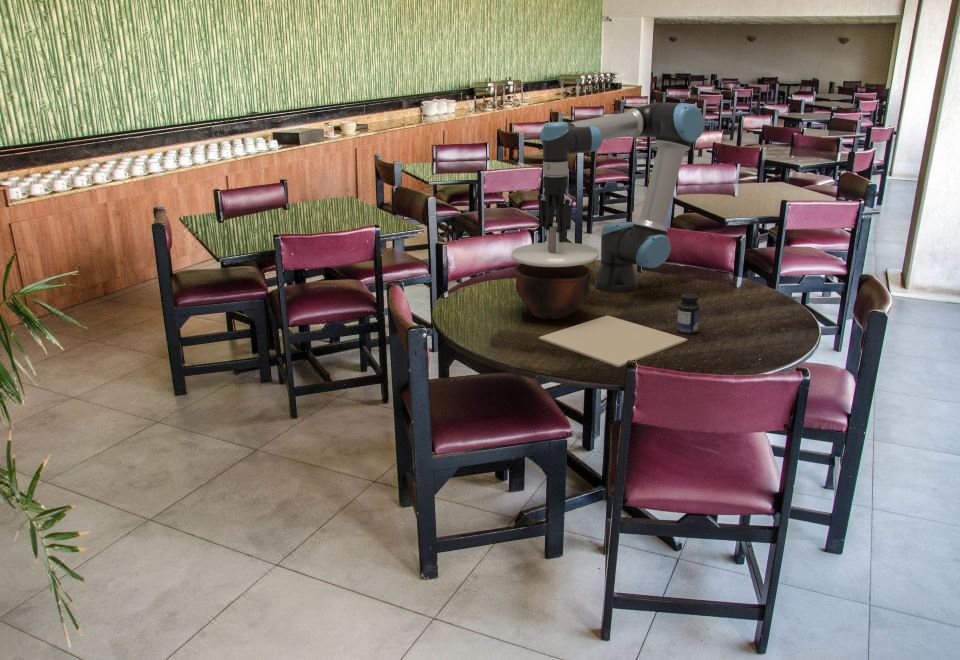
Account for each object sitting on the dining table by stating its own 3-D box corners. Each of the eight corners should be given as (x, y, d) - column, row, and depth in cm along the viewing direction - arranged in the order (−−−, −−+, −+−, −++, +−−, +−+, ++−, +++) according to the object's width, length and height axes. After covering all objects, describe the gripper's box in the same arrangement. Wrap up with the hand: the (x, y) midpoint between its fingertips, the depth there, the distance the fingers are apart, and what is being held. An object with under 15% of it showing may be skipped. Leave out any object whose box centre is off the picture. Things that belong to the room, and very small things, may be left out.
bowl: (606, 312, 246) (608, 266, 241) (560, 331, 228) (561, 283, 223) (545, 298, 261) (545, 255, 257) (498, 315, 244) (497, 269, 239)
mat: (538, 338, 223) (538, 337, 222) (607, 317, 241) (607, 315, 241) (618, 367, 201) (618, 365, 201) (687, 340, 219) (687, 338, 219)
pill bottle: (691, 327, 230) (694, 292, 227) (701, 333, 225) (704, 297, 221) (672, 329, 229) (675, 293, 225) (682, 335, 223) (684, 299, 220)
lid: (494, 256, 240) (493, 227, 237) (553, 241, 257) (553, 214, 254) (556, 271, 221) (556, 240, 218) (616, 255, 237) (617, 225, 234)
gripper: (527, 174, 234) (528, 249, 242) (566, 179, 222) (565, 257, 230) (545, 171, 239) (545, 245, 247) (584, 176, 227) (582, 253, 235)
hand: (555, 250), depth 238 cm, fingers closed on lid, 3 cm apart
